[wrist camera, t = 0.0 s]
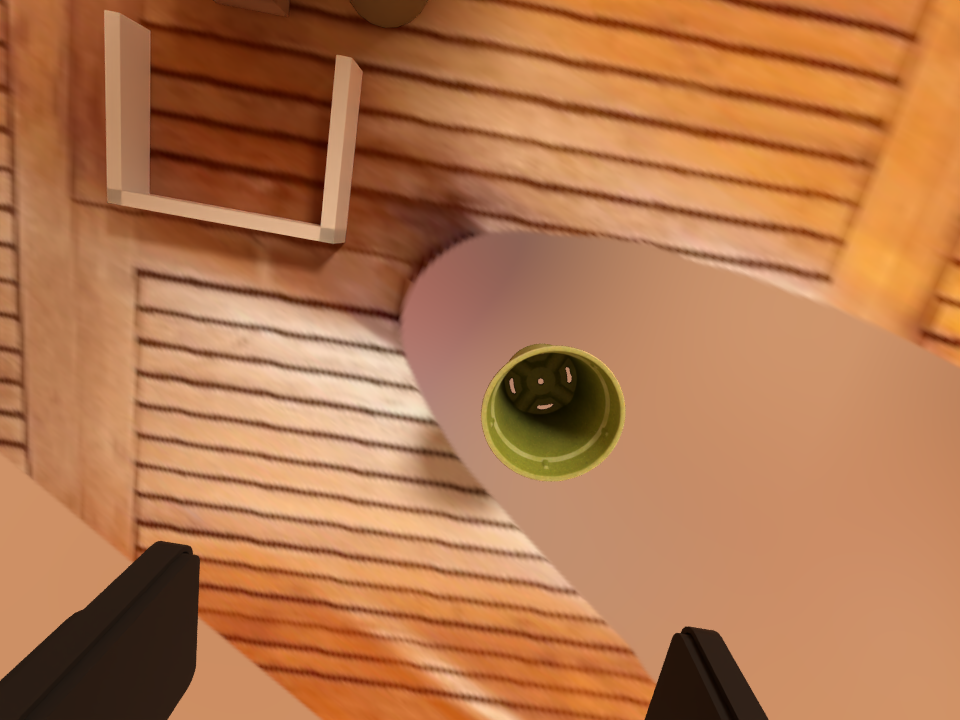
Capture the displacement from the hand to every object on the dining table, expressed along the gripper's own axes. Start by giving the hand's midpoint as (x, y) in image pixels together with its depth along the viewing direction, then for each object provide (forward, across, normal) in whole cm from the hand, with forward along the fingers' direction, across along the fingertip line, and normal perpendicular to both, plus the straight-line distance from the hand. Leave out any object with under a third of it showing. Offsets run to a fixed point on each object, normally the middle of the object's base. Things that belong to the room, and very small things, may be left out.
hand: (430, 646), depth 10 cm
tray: (+31, +19, -12) cm, 38 cm away
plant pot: (+32, -6, +3) cm, 32 cm away
